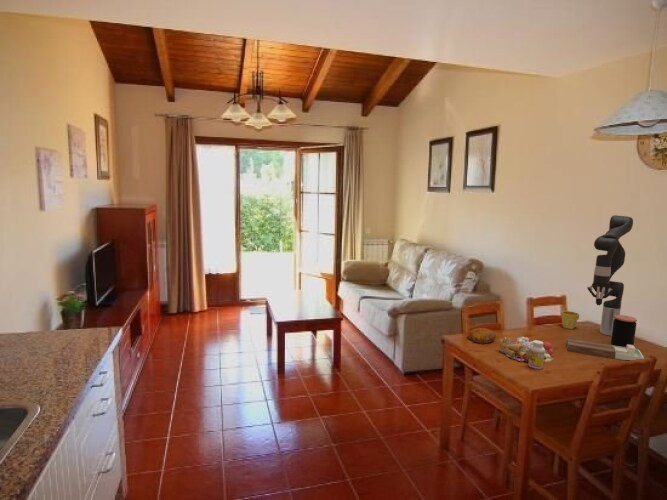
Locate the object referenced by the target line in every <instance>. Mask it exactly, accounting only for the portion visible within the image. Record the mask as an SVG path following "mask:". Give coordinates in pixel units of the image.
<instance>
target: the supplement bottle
mask: <svg viewBox="0 0 667 500" xmlns="http://www.w3.org/2000/svg"><path fill="white" fill-rule="evenodd" d="M543 344H544V342H543V341H542V340H536V339H535V340H533V345H532V346H531V347H530V354H529V361H528V366H529V367H530V368H532V369H534V370H535V369H536V370H542V369H543V367H544V363H545V362H544V354H545V351H546V350H545V349H544V347H543Z"/></svg>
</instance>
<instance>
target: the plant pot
mask: <svg viewBox="0 0 667 500" xmlns="http://www.w3.org/2000/svg"><path fill="white" fill-rule="evenodd" d="M560 317H561V324H562V327H563V328H565V329H569V330H574V329H575V327H576V324H577V322H578V321H579V319H580V313H578V312H575V311H570V310H561V312H560Z"/></svg>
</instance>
